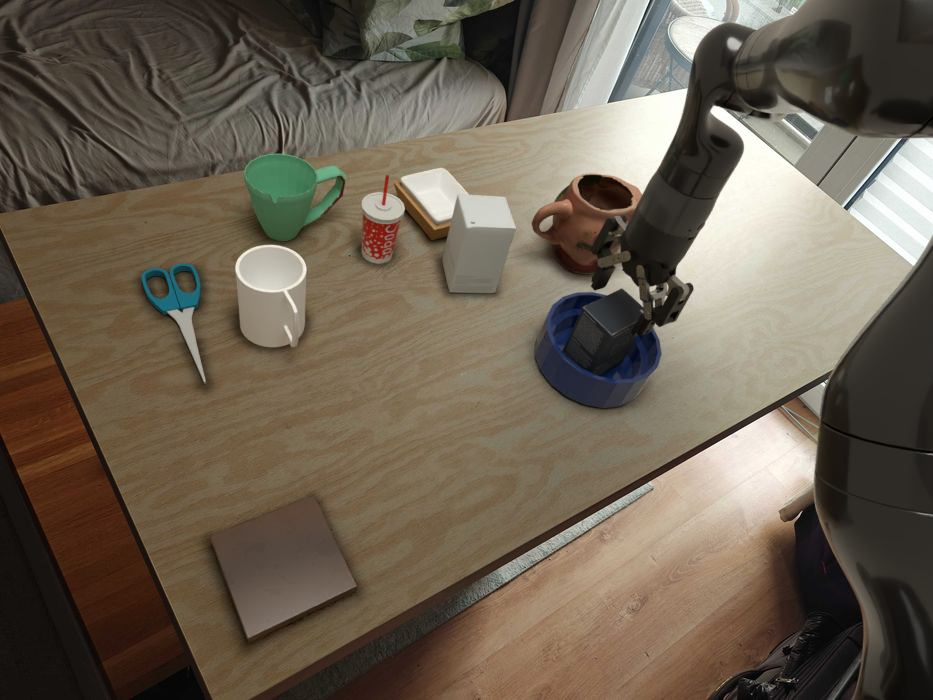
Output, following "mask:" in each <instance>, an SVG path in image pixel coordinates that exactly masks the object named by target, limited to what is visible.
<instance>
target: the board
mask: <svg viewBox="0 0 933 700" xmlns="http://www.w3.org/2000/svg"><path fill="white" fill-rule="evenodd" d="M210 543H211V546H212V548H213V551H214V554H215V557H216V560H217V562H218V565H219V567H220V571H221V573H222V576H223V578H224V582H225V584H226V587H227V589H228V592H229V595H230V598H231V601H232V603H233V606H234V608H235V611H236V614H237V617H238V619H239V623H240V625H241V627H242V630H243V633H244V636H245V639H246V641H247V644H251V643H253V642H255V641H257V640H259V639H261V638H263V637H265V636H267V635H269V634H271V633H274V632H275V631H277V630H280V629H282V628H283V627H286V626H287V625H290V624H292V623H294V622H296V621H298V620H300V619H303V618H305V617H307V616H308V615H311V614H312V613H314V612H317V611H318V610H321V609H323V608H325V607H327V606H328V605H330V604H333V603H336V602H337V601H340V600H342V599H343V598H345V597H348V596H349V595H352V594H354V593H355V592H357V590H358V584H357V582H356V580H355V578H354V575H353V574H352V572H351V569H350V567H349V566H348V563H347V561H346V559H345V557H344V555H343V553H342V551H341V548H340V547H339V544H338V542H337V540H336V538H335V536H334V533H333V532H332V529H331V528H330V524H329V523H328V521H327V519H326V517H325V515H324V512H323V510H322V508H321V506H320V504H319V502H318V500H317V498H316V495H315V494H314V495H313V494H312V495H311V496H309V497H305V498H304V499H301V500H298V501H295V502H293V503H291V504H289V505H286V506H284V507H281V508H278V509H276V510H273V511H271V512H268V513H266V514H263V515H261V516H259V517H256V518H254V519H250V520H248V521H246V522H244V523H241V524H239V525H236V526H234V527H233V526H232V527H231V528H228V529H226V530H223V531H221V532H218V533H216V534H213V535H211V536H210Z"/></svg>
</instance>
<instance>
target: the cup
mask: <svg viewBox="0 0 933 700" xmlns="http://www.w3.org/2000/svg"><path fill="white" fill-rule="evenodd" d="M234 268H235V279H236V280H235V281H236V292H237V303H238V315H239V316H238V317H239V327H240V331H241V333H242V334H243V337H245V338H246V339H247V340H248V341H249V342H251V343H253V344H255V345H257V346H259V347H265V348H280V347H284V346H287V345H290V347H291V348H296V347H298V344H299V338H300V337H302V335H303V333H304V330H305V326H306V302H307V301H306V300H307V298H306V297H307V265H306V262H305V260H304V259H303V257H302V256H301V255H300V254H299V253H297V252H296V251H295V250H293V249H291V248H288V247H286V246H283V245H278V244H262V245H257V246H255V247H251V248H249V249H247V250H245V251H244V252H243V253H242V254H241V255H240V256H238V259H237V260H236V263H235V267H234Z"/></svg>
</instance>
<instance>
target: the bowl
mask: <svg viewBox="0 0 933 700" xmlns="http://www.w3.org/2000/svg"><path fill="white" fill-rule="evenodd" d="M607 295H608V294H603V293H599V292H594V291H591V292H590V291H587V292H586V291H585V292H583V291H582V292H581V291H580V292H573V293H570V294H566V295H564V296H562V297H561V298H559V299H558V300H557V301H556V302H554V303H553V304H552V305H551V307H550V309H549V311H548V313H547V315H546V317H545V319H544V322H543V324H542V326H541V329H540V330H539V334H538V335H537V338H536V340H535V346H534V347H535V348H534V350H535V351H534V356H535V360H536V363H537V366H538V368H539V370H540V372H541V374H542V375H543V376H544V377H545V379H546V380H547V382H548V383H549V384H550V385H551V387H553V388H555V389H556V390H557V391H558V392H560V393H561V394H562V395H564V397H567V398H569V399H571V400H573V401H575V402H577V403H579V404H581V405H584V406H590V407H594V408H600V409H607V408H608V409H609V408H619V407H622V406H625V405H626V404H628V403H630V402H632V401H634V400H635V399H636V397H637V396H638V395H640V394H641V392H642V391H643V390H644V388H645V387H646V385H647V384H648V382H649V381H650V380H651V378H652V377H653V374H654V373H655V372H656V371H657V369H658V368H659V365H660V362H661V358H662V347H661V340H660V338H659V336H658V334H657V332H656V330H655V328H654V327H653V328H652V330H651V331H650V332H649V333H647V334H645V335H642V336H639V335H638V336H637V338H636V340H635V342H634V343H633V345H632V347H631V348H630V350H629V352H628V354H627V355H626V357H625V359H624V360H623V362H622V363H621V364H619V365H618V366H616V367H614V368H612V369H611V370H609V371H607V372H605V373H604V374H602V375H600V376H597V375H595V374H593V373H590V372H588V371H586V370H584V369H582V368H580V367H579V366H578V365H576V364H575V363H574V362H572V361H571V360H570V359H569V358H567V357H566V356H565V354H564V353H563V352H562V351H563V349H564V346H565V344H566V342H567V340H568V338H569V336H570V334H571V332H572V330H573V328H574V325H575V323H576V321H577V319H578V317H579V315H580V313H581V311H582V308H583V307H584V306H586V305H588V304H590V303H593V302H595V301H597V300H599V299H601V298H603V297H605V296H607Z"/></svg>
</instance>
